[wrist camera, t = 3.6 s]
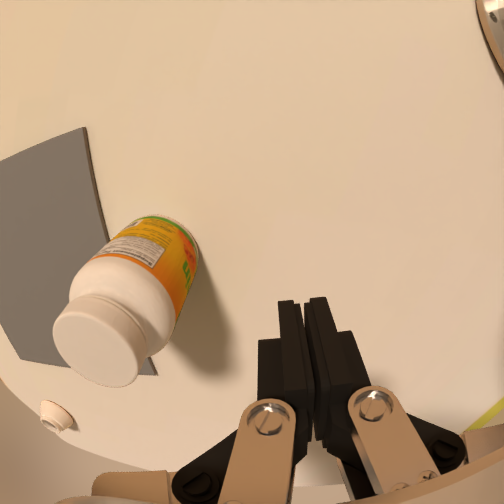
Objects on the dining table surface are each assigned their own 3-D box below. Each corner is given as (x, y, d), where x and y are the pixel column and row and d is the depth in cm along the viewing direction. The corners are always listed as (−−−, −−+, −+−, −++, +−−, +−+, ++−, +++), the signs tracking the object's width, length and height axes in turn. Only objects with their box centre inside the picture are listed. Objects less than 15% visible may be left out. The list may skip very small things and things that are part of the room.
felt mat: (85, 127, 15) (82, 127, 15) (156, 372, 23) (155, 375, 23) (-45, 186, 17) (-48, 188, 16) (22, 357, 25) (20, 359, 24)
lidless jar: (79, 425, 30) (65, 404, 28) (71, 441, 27) (57, 421, 25) (51, 415, 30) (37, 394, 28) (43, 430, 27) (28, 409, 25)
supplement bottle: (191, 297, 20) (152, 413, 11) (119, 275, 20) (49, 372, 11) (208, 225, 18) (162, 326, 9) (127, 203, 17) (31, 277, 9)
